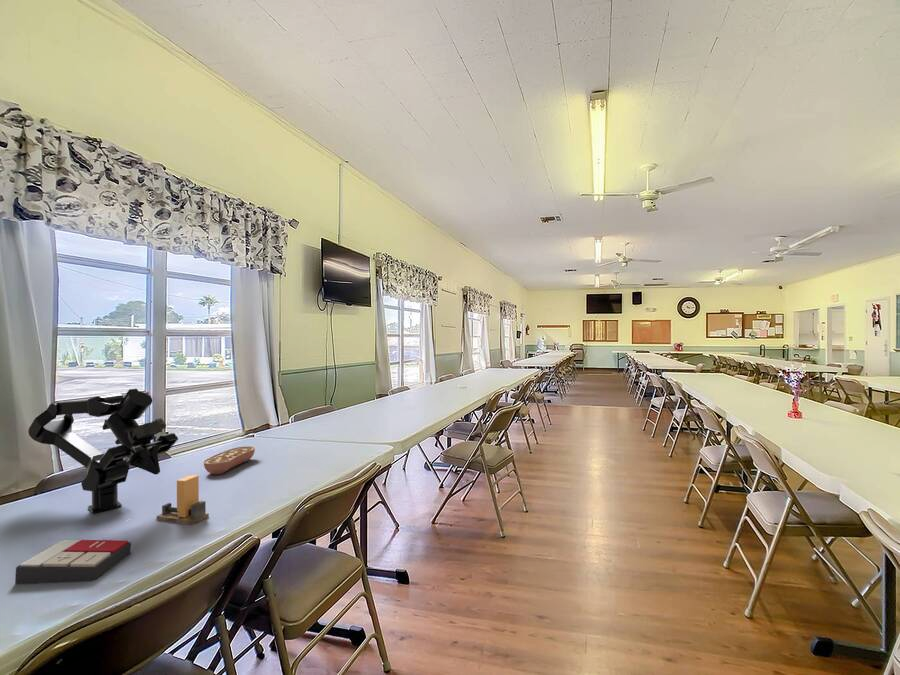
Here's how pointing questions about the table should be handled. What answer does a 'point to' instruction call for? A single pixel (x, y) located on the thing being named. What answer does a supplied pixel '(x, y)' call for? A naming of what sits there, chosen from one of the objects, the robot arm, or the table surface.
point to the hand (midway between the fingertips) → (158, 473)
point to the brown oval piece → (228, 459)
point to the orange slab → (187, 494)
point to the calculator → (73, 561)
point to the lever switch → (194, 517)
